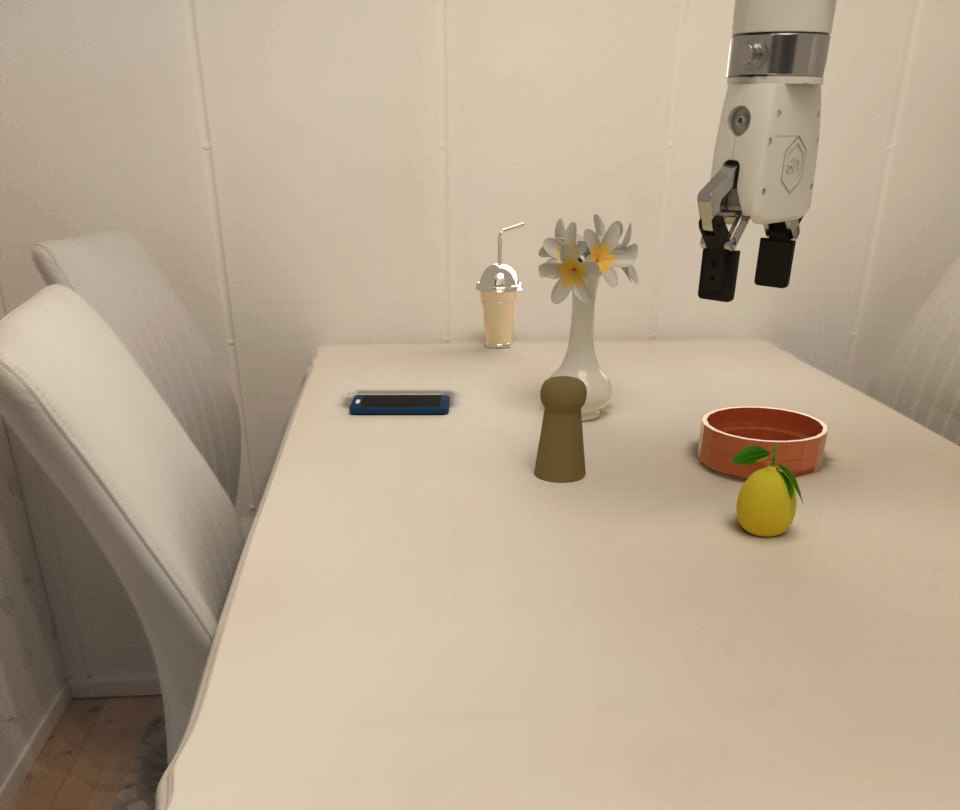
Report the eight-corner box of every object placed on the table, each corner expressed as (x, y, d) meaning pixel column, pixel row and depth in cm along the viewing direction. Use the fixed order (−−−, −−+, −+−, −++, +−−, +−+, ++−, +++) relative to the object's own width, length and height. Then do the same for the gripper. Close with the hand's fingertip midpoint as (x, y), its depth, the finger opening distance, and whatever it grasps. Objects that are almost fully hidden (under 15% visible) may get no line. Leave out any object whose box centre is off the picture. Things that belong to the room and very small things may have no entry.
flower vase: (526, 434, 120) (531, 225, 107) (539, 396, 135) (545, 210, 123) (626, 439, 118) (644, 227, 105) (628, 400, 134) (643, 212, 121)
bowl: (755, 439, 118) (761, 400, 116) (845, 470, 108) (854, 428, 105) (672, 458, 112) (677, 417, 109) (760, 493, 101) (767, 449, 99)
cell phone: (354, 399, 133) (354, 394, 133) (449, 399, 134) (449, 394, 133) (348, 414, 127) (348, 408, 127) (448, 414, 127) (448, 408, 127)
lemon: (721, 526, 93) (735, 430, 88) (780, 527, 93) (797, 431, 88) (735, 554, 87) (750, 453, 82) (797, 555, 87) (816, 453, 82)
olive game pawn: (556, 486, 103) (561, 387, 98) (523, 471, 107) (525, 376, 102) (596, 475, 106) (603, 379, 101) (562, 461, 110) (567, 368, 105)
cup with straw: (471, 341, 168) (470, 222, 158) (519, 339, 169) (522, 221, 159) (479, 351, 161) (479, 227, 151) (530, 349, 162) (533, 226, 152)
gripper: (766, 58, 65) (732, 311, 73) (868, 66, 76) (827, 286, 84) (675, 61, 69) (653, 300, 78) (784, 69, 80) (753, 277, 89)
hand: (744, 292), depth 81 cm, fingers open, 9 cm apart
